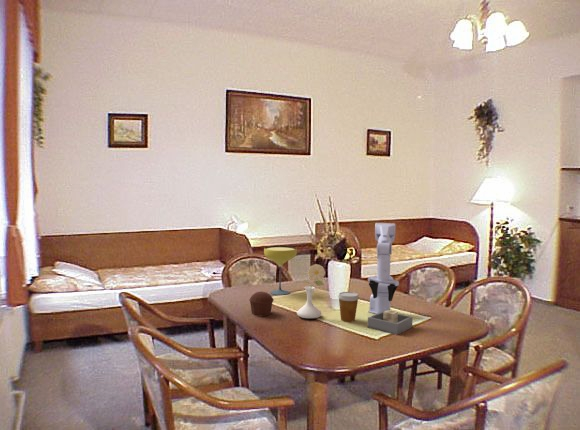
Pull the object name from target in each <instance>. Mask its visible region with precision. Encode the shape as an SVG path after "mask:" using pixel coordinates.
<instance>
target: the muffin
mask: <svg viewBox="0 0 580 430" xmlns="http://www.w3.org/2000/svg"><path fill="white" fill-rule="evenodd" d="M273 302H274V297H273V296H272V294H271V293H268V292H266V291H257V292H254V293H253V294H252V295H251V297H250V298H249V303H250V308H251V309H250V310H251V311H250V312H251V314H252V315H253V316H258V317H266V316H270V314H271V313H272V307H273Z"/></svg>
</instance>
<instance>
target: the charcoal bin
mask: <svg viewBox="0 0 580 430" xmlns="http://www.w3.org/2000/svg"><path fill="white" fill-rule="evenodd" d="M383 312H385V311H382V312H380V313H377V314H375V313H374V314H373V315H370V316H368V317H367V328H368V329H371V330H375V331H379V332H384V333H388V334H392V335H396V336H397V335H400V334H402V333H403V332H406V331H407V330H409V329H411V328H413V318H414V317H413V316H410V315H406V314H405V315H404V314H402V313H401V314H400V313H398V323H393V322H389V321H385V320H383Z"/></svg>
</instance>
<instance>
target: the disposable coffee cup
mask: <svg viewBox="0 0 580 430" xmlns="http://www.w3.org/2000/svg"><path fill="white" fill-rule="evenodd" d="M337 299H338V302H339V311H340V312H339V314H340V321H341V322H346V323H351V322H355V320H356V314H357V307H358V301H359V299H360V297H359V293H357V292H353V291H341V292H339V293H338V296H337Z"/></svg>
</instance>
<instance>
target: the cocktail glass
mask: <svg viewBox="0 0 580 430" xmlns="http://www.w3.org/2000/svg"><path fill="white" fill-rule="evenodd" d="M297 252H298V250H297V247H293V246H288V245H287V246H286V245H271V246H266V247H264V249H263V254H264V256H265V257H266V258H268V259H269V260H270V261H273V262H274V263H276V265H277V267H279V280H278V281H279V282H278V285H279V286H278V289H275V290H271V291H270V292H269V294H270V295H275V296H286V295H289V294H290V291H289V290H286V289H282V283H281V282H282V281H281V280H282V279H281V277H282V275H281V273H282V267H283V265H284V264H285V263H286V262H289V261H291V260H292V259H294V258H295V257H296V256H297V254H298V253H297Z"/></svg>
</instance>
